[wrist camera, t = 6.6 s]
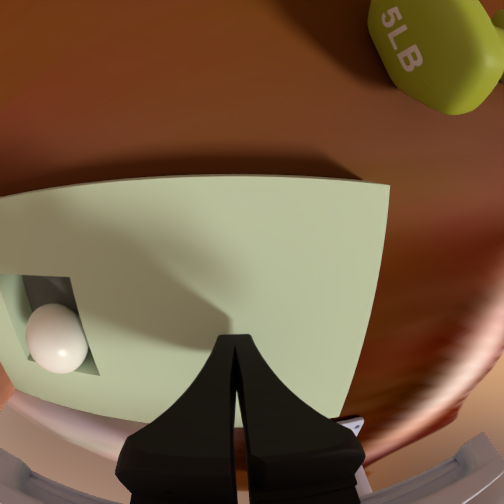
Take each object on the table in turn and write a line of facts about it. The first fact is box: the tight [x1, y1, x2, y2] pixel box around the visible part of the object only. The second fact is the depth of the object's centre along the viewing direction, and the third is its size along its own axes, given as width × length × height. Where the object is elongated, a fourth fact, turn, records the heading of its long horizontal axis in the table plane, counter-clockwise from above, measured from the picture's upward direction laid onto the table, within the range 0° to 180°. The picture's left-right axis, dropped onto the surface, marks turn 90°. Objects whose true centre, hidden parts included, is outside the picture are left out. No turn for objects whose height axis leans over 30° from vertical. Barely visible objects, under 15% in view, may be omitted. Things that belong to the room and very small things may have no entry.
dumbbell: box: [367, 0, 504, 115], centre depth 7 cm, size 16×8×7 cm, turn 110°
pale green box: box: [0, 174, 390, 427], centre depth 9 cm, size 14×24×10 cm, turn 89°
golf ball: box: [25, 303, 88, 374], centre depth 12 cm, size 4×4×4 cm
